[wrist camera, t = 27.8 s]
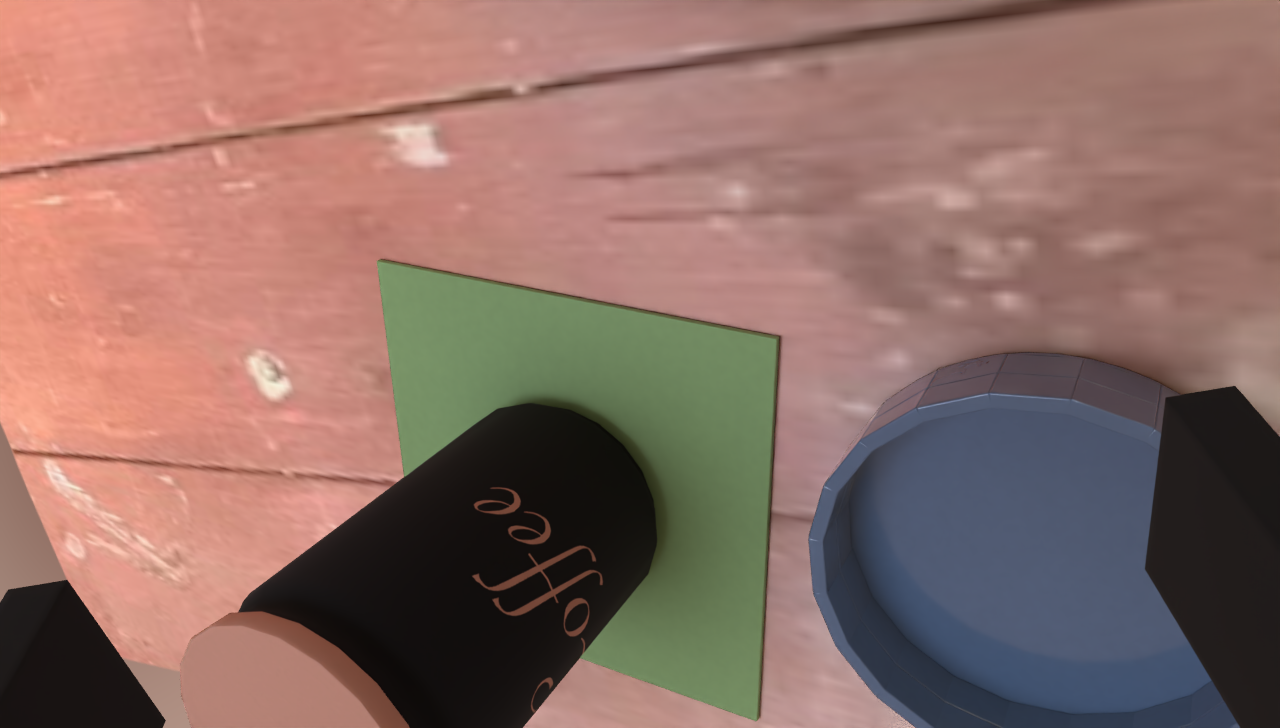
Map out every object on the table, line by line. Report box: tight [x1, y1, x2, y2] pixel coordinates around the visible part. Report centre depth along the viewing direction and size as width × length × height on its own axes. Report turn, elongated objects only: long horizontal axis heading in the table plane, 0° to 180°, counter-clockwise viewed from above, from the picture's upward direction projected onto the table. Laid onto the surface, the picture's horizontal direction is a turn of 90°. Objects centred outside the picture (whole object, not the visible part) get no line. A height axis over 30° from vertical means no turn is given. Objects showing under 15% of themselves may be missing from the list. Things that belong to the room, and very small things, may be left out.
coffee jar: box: [180, 403, 657, 728], centre depth 43 cm, size 11×11×18 cm
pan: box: [809, 352, 1240, 728], centre depth 38 cm, size 16×16×4 cm
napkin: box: [377, 259, 779, 721], centre depth 50 cm, size 20×20×1 cm
